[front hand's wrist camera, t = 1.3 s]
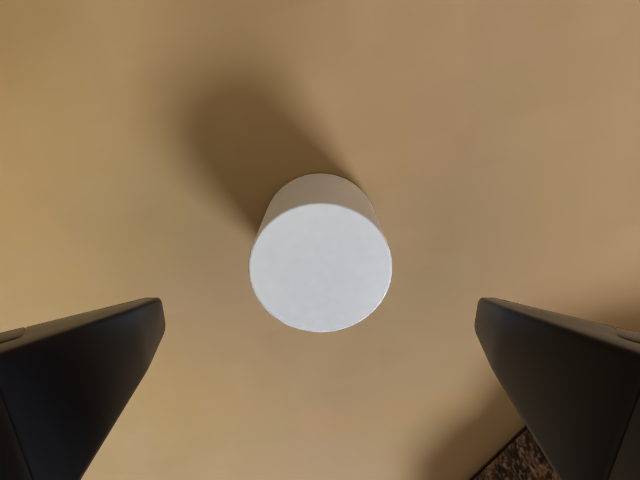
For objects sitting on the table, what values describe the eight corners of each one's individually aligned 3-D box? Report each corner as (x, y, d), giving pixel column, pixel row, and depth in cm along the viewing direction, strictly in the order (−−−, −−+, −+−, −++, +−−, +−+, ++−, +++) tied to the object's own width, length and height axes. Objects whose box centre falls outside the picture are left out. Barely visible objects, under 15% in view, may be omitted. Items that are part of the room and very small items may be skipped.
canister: (261, 173, 17) (242, 202, 13) (378, 172, 17) (397, 202, 13) (267, 278, 19) (253, 333, 15) (373, 278, 19) (388, 332, 15)
